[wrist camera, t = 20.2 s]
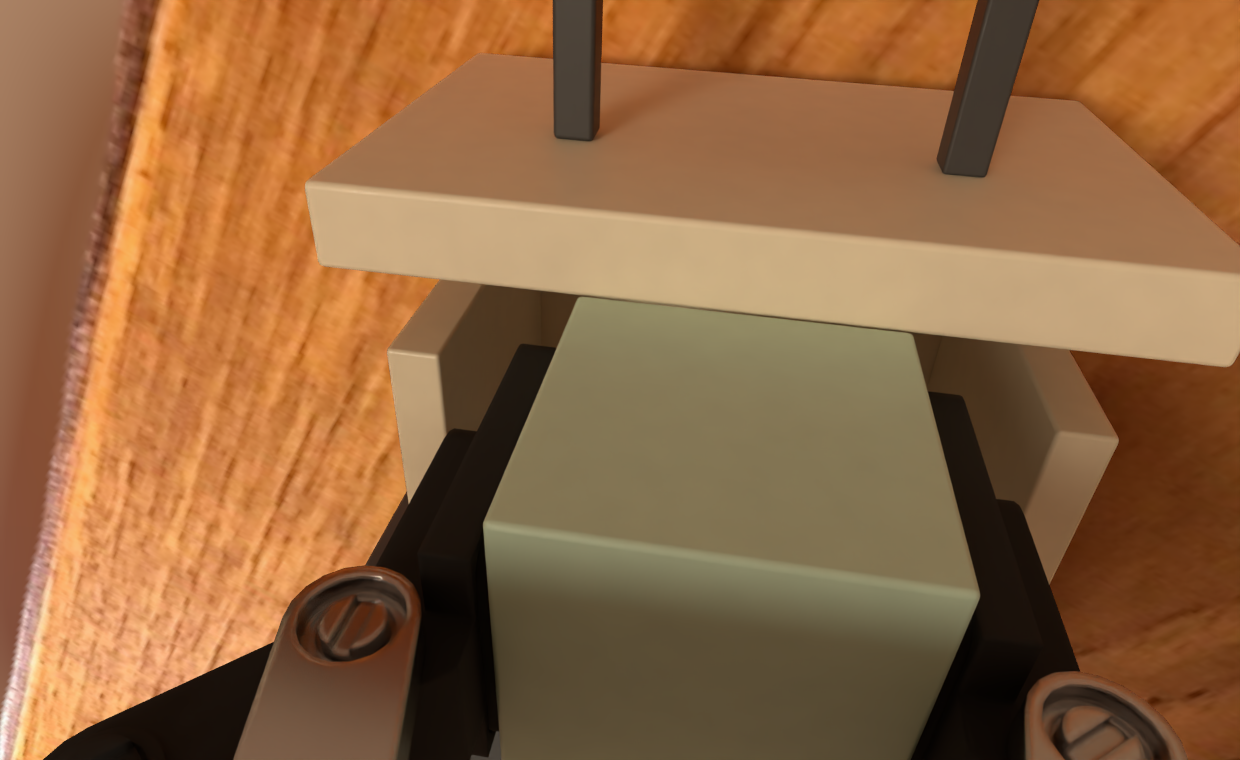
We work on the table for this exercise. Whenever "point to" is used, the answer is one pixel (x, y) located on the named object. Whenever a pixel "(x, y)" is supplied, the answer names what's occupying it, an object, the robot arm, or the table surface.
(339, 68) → the table surface
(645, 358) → the block
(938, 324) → the drawer
